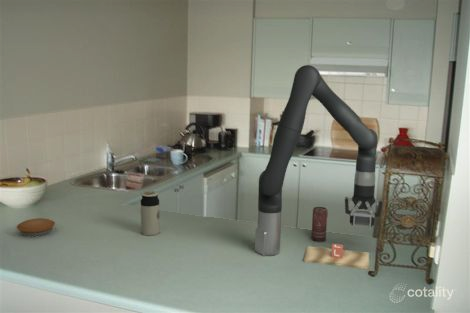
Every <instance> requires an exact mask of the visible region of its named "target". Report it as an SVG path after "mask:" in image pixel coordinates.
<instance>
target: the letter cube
mask: <svg viewBox="0 0 470 313" xmlns="http://www.w3.org/2000/svg"><path fill="white" fill-rule="evenodd" d="M331 249H332V258H341V259H342V254H343V250H344V245H343V244H337V243H332V245H331Z"/></svg>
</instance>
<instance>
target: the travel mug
mask: <svg viewBox="0 0 470 313" xmlns="http://www.w3.org/2000/svg"><path fill="white" fill-rule="evenodd" d="M140 196H141V200H140V226H141V227H140V229H141V230H140V231H141V232H140V233H141V234H142V235H144V236H155V235H158V234H159V233H160V230H161V228H160V227H161V226H160V223H161V222H160V199H159V192H158V191H154V190H149V191H143V192H141V195H140Z"/></svg>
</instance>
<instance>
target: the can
mask: <svg viewBox="0 0 470 313" xmlns="http://www.w3.org/2000/svg"><path fill="white" fill-rule="evenodd" d="M328 210H329V209H327V208H326V207H323V206H316V207H313V209H312V219H311V220H312V221H311V240H312V241H314V242H317V243H323V242H325V241H326V240H327V223H328V222H327V221H328V215H329V214H328V213H329V211H328Z"/></svg>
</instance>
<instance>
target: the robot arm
mask: <svg viewBox="0 0 470 313" xmlns="http://www.w3.org/2000/svg"><path fill="white" fill-rule="evenodd" d="M294 73H295V74H294V77H293V82H292V87H291V91H290V94H289V98H288V101H287V102H286V105H285V107H284V109H283V112H282V114H281V116H280V119H279V121H278V124H277V128H276V130H275V133H274V137H273V140H272V145H271V152H270V158H269V159H268V163H267V165H266V167H265V170H263V171H262V172H261V173H260V175H259V177H258V198H257V199H258V200H257V202H258V203H257V204H258V205H257V227H256V228H255V230H254V231H255V234H254V236H255V238H254V240H255V241H254V245H255V246H254V251H255V252H257V253H258V254H259V255H261V256H264V257H266V256H268V257H269V256H276V255H279V254H280V253H281V235H282V234H281V233H282V232H281V231H282V230H281V229H282V207H283V206H282V204H283V199H282V197H283V194H282V192H283V186H284V182H285V178H286V173H287V169H288V166H289V163H290V161H291V159H292V156H293V155H294V152H295V150H296V148H297V145H298V142H299V140H300V137H301V136H302V132H303V128H304V125H305V120H306V115H307V109H308V105H309V102H310V100H311V97H314V98H315V99H316V100H317V101H318V102H320V104H321V105H322V106H323V107H324V109H325V110H326V111H327V113H329V115H330V116H331V117H332V118H333V119H334V121H336V122H337V124H339V126H340V127H341V128H342V129H343V130H345V131H346V133H348V135H349V136H350V138H351V139H352V140H353V141H354V143H355V144H356V145H357V146H358V147H357V157H356V160H355V171H354V172H355V173H354V180H353V181H354V183H353V194H352V197H347V196H345V197H344V210H345V211H344V212H345V214H347V215H349V224H350V225H351V226H353V218H354V213H355V212H356V210H357V211H358V210H364V211H367V210H368V211H369V212H370V214H371V228H372V227H373V226H375V223H376V222H375V219H376V218H377V217H380V216H381V212H382V208H383V200H382V199H375V188H376V166H377V162H376V161H377V160H376V154H377V150H378V149H377V147H378V141H379V140H378V136H379V135H378V134H377V132H376V131H375V130H374V129H372V128H369V127H368V126H367V125H366V124H365V123H364V122H363V121H362V119H361V118H360V116H359V115H358V114H357V112H355V111H354V110H353V108H351V107H350V106H349V105H348V104H347V103H346V102H345V101H344V100H343V99H342V98H340V97H339V96H338V94H336V93H335V92H334V91H333V90H332V88H331V87H330V86H329V84H327V82H326V81H325V80H324V78H323V76H322V75H321V73H320V71H319V70H318V69H317V67H315V66H312V65H310V64H309V65H308V64H305V65H302V66H301V67H299V68H298V69H297V70H296V72H294ZM351 202H352V203H353V207H352V208H351V210H350V209H349V204H351ZM375 203H376V204H375ZM374 204H375V205H376V206H377V210H376V212H375V211H374V209H373V205H374Z"/></svg>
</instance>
